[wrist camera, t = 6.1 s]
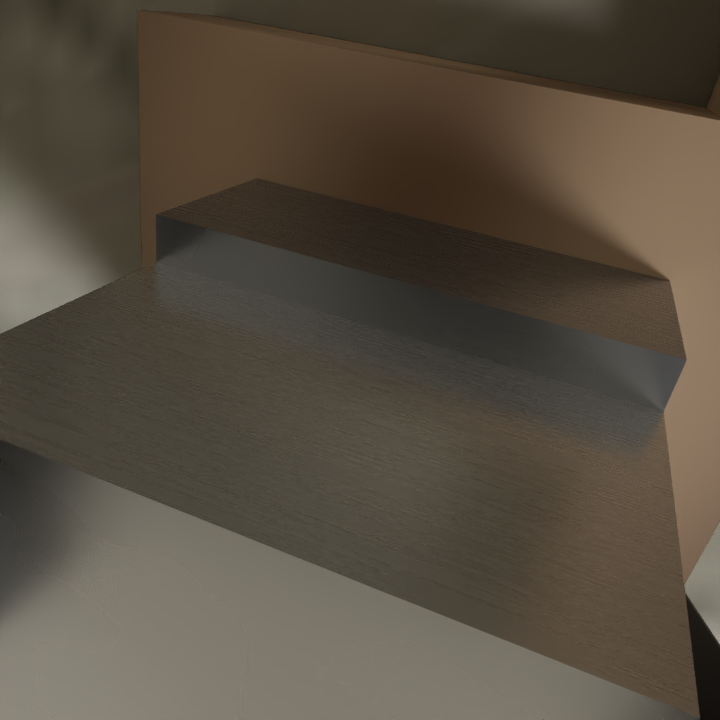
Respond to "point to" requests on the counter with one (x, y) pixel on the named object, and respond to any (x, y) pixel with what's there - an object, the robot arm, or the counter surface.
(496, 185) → the stand
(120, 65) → the counter surface
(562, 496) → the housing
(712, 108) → the stand
